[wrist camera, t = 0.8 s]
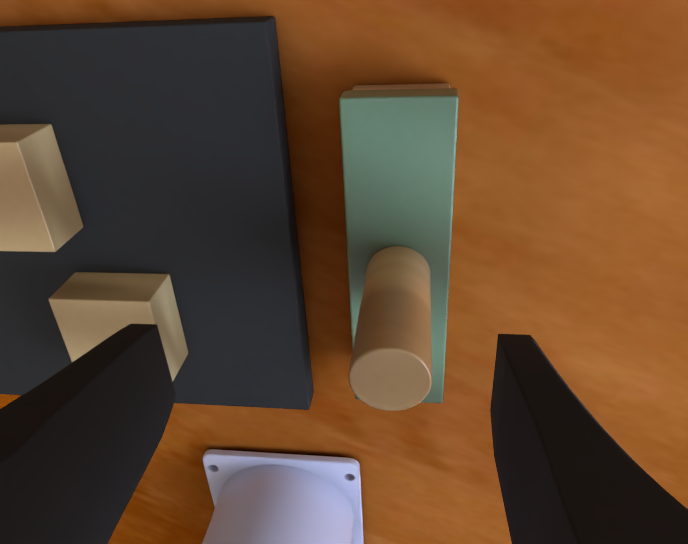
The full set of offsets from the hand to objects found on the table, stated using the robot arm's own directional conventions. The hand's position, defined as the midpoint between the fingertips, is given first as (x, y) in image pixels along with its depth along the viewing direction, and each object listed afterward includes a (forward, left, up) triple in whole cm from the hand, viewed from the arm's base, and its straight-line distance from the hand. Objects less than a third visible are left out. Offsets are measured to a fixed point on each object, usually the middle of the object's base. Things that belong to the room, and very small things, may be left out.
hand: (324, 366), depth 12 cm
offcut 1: (+1, +13, -9) cm, 16 cm away
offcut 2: (-5, +10, -9) cm, 14 cm away
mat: (-2, +13, -10) cm, 17 cm away
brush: (-2, -1, -10) cm, 11 cm away
